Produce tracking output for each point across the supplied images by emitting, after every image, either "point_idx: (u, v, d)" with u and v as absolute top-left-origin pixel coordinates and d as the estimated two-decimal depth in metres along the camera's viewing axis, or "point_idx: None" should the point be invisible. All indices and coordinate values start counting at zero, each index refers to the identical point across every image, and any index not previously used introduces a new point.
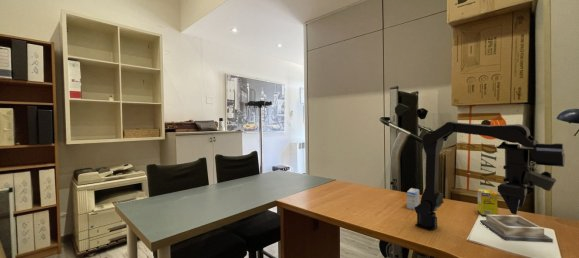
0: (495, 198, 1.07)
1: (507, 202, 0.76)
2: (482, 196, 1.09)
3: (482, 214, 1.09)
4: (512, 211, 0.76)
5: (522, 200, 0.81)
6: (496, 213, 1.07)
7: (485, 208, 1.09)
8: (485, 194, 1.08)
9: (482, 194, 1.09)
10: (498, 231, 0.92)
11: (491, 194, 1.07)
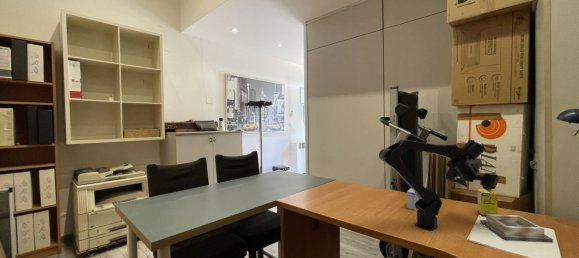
0: (495, 198, 1.07)
1: (489, 189, 0.99)
2: (482, 196, 1.09)
3: (482, 214, 1.09)
4: (490, 190, 1.01)
5: (465, 182, 1.10)
6: (496, 213, 1.07)
7: (485, 208, 1.09)
8: (485, 194, 1.08)
9: (482, 194, 1.09)
10: (498, 231, 0.92)
11: (491, 194, 1.07)
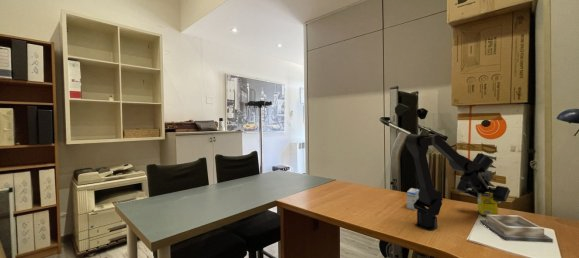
0: None
1: (499, 201, 1.05)
2: (482, 196, 1.09)
3: (482, 214, 1.09)
4: (500, 202, 1.07)
5: (477, 193, 1.14)
6: (496, 213, 1.07)
7: (485, 208, 1.09)
8: (485, 194, 1.08)
9: (482, 194, 1.09)
10: (498, 231, 0.92)
11: (491, 194, 1.07)
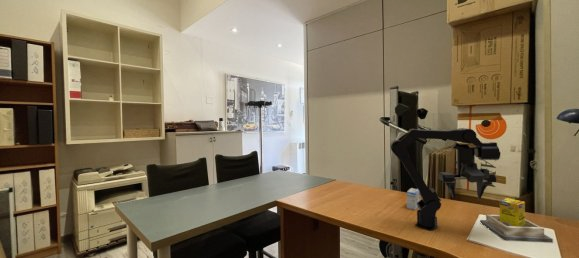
0: (516, 209, 0.91)
1: (448, 188, 0.99)
2: (500, 205, 0.95)
3: None
4: (452, 195, 0.98)
5: (479, 193, 0.95)
6: None
7: (504, 219, 0.94)
8: (504, 203, 0.94)
9: (500, 202, 0.95)
10: (498, 231, 0.92)
11: (511, 204, 0.92)
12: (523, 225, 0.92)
